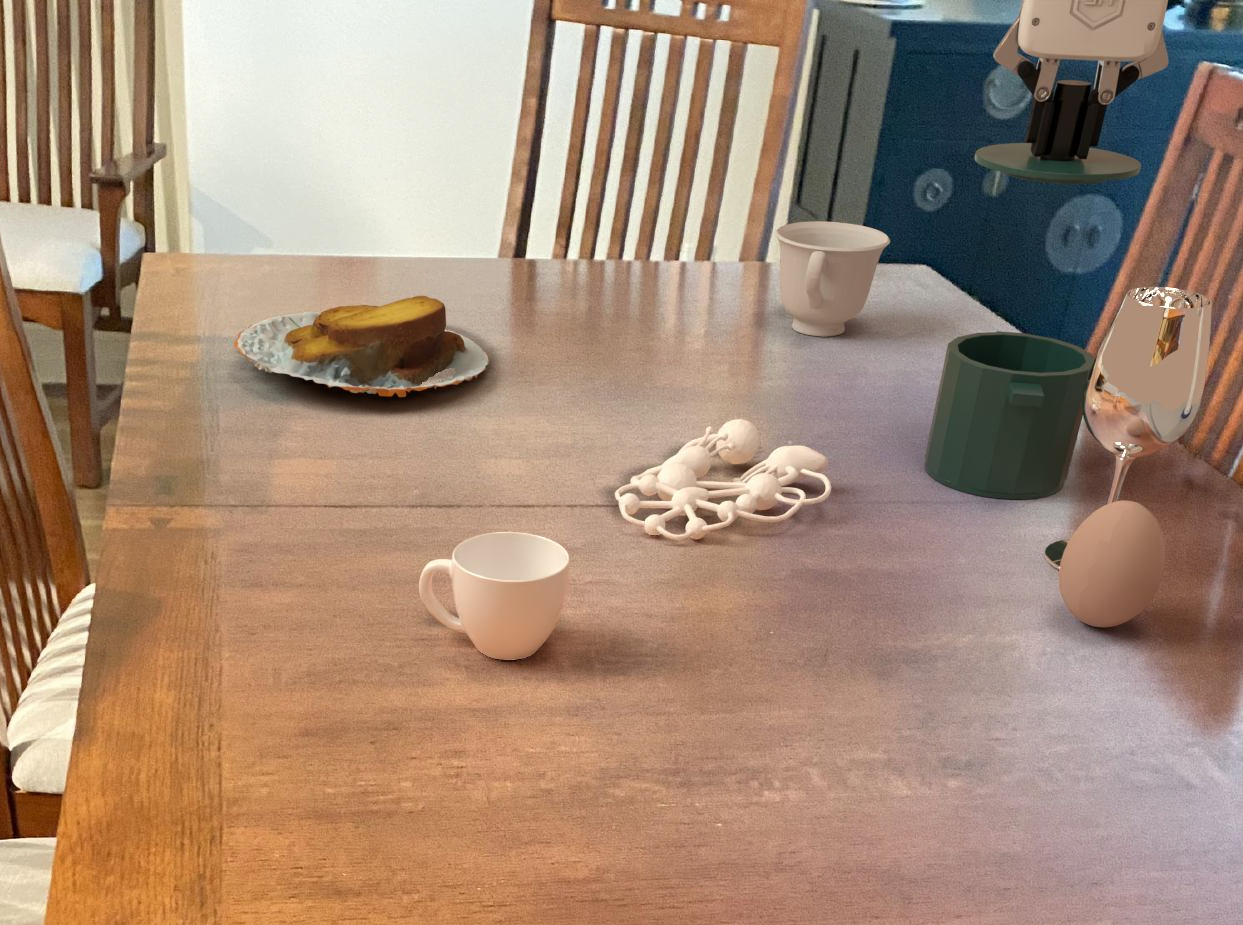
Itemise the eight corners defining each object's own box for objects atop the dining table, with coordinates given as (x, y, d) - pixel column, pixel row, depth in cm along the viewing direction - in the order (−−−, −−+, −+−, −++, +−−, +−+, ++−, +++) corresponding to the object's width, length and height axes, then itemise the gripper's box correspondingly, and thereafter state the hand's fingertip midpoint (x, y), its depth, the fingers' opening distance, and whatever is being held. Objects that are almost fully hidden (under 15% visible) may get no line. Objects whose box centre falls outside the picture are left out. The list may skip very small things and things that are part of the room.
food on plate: (278, 326, 163) (276, 264, 159) (505, 343, 159) (508, 280, 156) (204, 402, 142) (199, 332, 138) (463, 424, 138) (465, 353, 135)
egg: (1165, 630, 106) (1203, 509, 101) (1105, 654, 103) (1141, 530, 98) (1086, 595, 110) (1119, 477, 105) (1026, 616, 107) (1057, 496, 102)
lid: (1124, 161, 125) (1146, 74, 121) (1150, 193, 115) (1174, 99, 111) (967, 153, 127) (984, 67, 123) (978, 184, 117) (997, 91, 113)
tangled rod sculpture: (706, 580, 114) (715, 532, 112) (570, 508, 122) (575, 462, 120) (856, 508, 125) (867, 462, 122) (722, 446, 133) (729, 402, 130)
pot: (1052, 445, 136) (1082, 329, 130) (1075, 518, 122) (1108, 391, 116) (920, 433, 138) (943, 318, 132) (928, 503, 124) (954, 378, 119)
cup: (555, 679, 99) (561, 586, 95) (407, 663, 100) (407, 571, 96) (570, 626, 105) (576, 537, 101) (430, 612, 106) (431, 523, 103)
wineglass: (1020, 550, 117) (1085, 288, 106) (1097, 535, 119) (1168, 277, 108) (1092, 591, 111) (1169, 318, 100) (1172, 574, 114) (1256, 306, 102)
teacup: (745, 344, 160) (757, 247, 154) (775, 308, 172) (787, 216, 166) (859, 359, 156) (876, 260, 151) (882, 321, 168) (898, 228, 162)
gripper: (1008, -115, 108) (956, 158, 119) (1248, -109, 106) (1173, 170, 116) (999, -119, 114) (950, 140, 125) (1225, -114, 112) (1156, 151, 122)
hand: (1058, 152), depth 120 cm, fingers closed on lid, 2 cm apart
